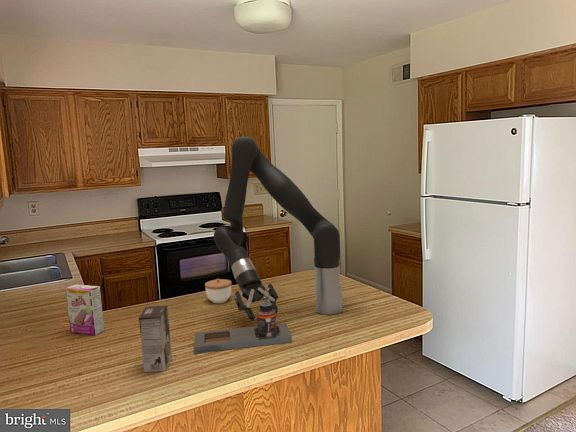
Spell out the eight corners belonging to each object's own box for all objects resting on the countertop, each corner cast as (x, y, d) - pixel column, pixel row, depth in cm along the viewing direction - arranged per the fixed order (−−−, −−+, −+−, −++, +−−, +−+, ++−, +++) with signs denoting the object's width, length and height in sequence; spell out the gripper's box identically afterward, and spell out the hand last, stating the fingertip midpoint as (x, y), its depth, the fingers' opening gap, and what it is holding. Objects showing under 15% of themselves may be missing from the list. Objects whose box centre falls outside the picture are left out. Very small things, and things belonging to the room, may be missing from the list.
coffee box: (150, 358, 130) (145, 306, 128) (172, 356, 131) (167, 304, 129) (143, 372, 121) (137, 317, 119) (166, 370, 122) (161, 315, 120)
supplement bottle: (274, 341, 137) (272, 307, 136) (256, 341, 139) (254, 306, 137) (278, 334, 143) (276, 301, 142) (261, 333, 144) (259, 300, 143)
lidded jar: (221, 306, 172) (219, 283, 171) (200, 303, 178) (199, 280, 177) (237, 298, 181) (236, 276, 180) (218, 295, 187) (216, 274, 186)
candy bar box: (69, 333, 152) (64, 288, 150) (80, 327, 157) (75, 283, 155) (95, 336, 149) (89, 289, 147) (105, 330, 153) (100, 285, 151)
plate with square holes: (286, 328, 148) (285, 322, 147) (291, 342, 137) (291, 336, 136) (195, 338, 143) (195, 332, 143) (194, 353, 132) (193, 347, 132)
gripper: (230, 272, 142) (249, 316, 134) (267, 265, 150) (287, 305, 142) (223, 284, 147) (242, 327, 139) (260, 276, 155) (279, 316, 147)
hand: (265, 316), depth 141 cm, fingers open, 8 cm apart
